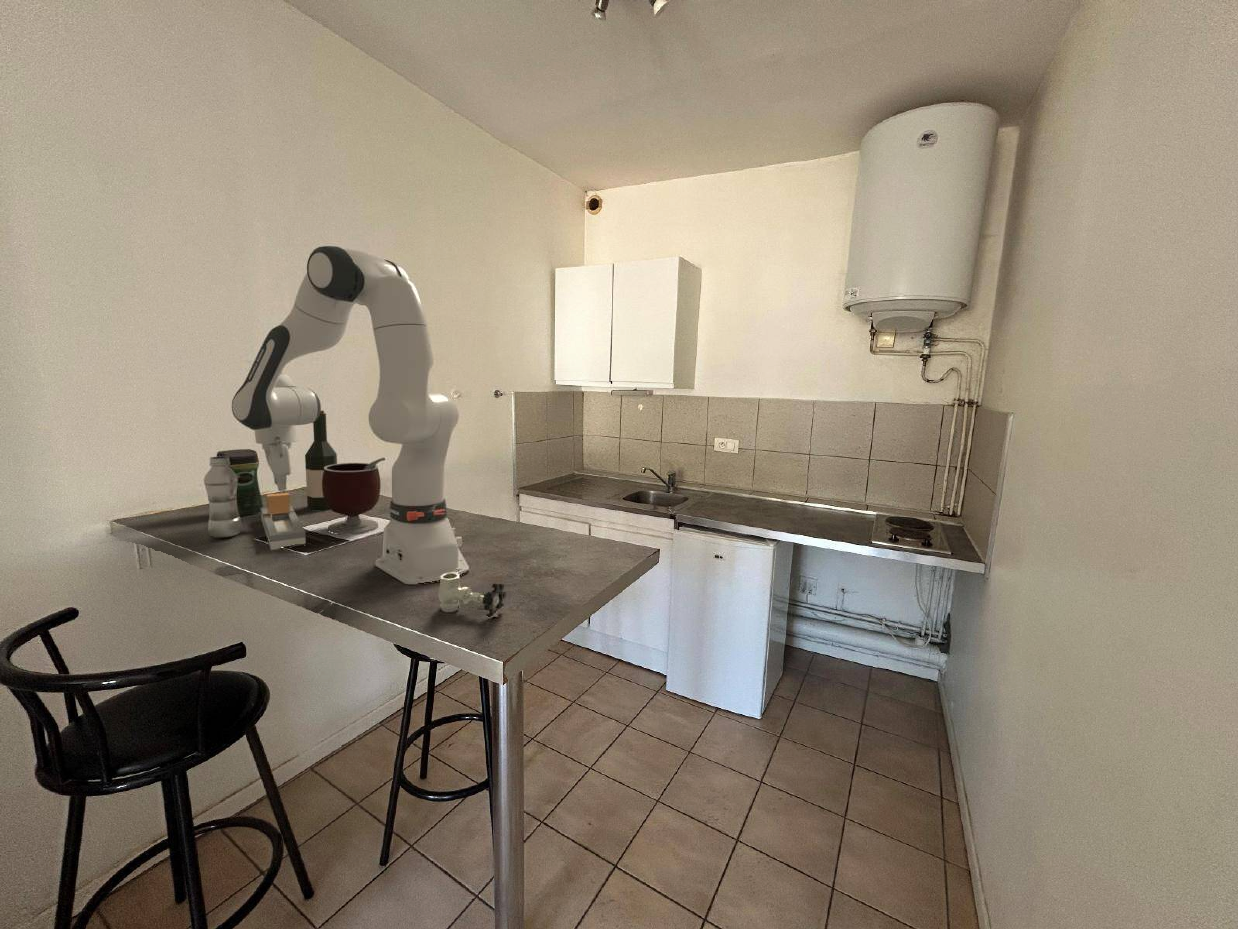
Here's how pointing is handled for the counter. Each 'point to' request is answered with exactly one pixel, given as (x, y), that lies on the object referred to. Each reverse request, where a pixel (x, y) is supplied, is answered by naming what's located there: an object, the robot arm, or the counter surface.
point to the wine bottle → (318, 464)
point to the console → (283, 530)
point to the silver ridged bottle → (222, 498)
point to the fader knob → (278, 505)
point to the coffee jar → (245, 479)
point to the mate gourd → (352, 494)
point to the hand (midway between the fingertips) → (280, 487)
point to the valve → (467, 594)
